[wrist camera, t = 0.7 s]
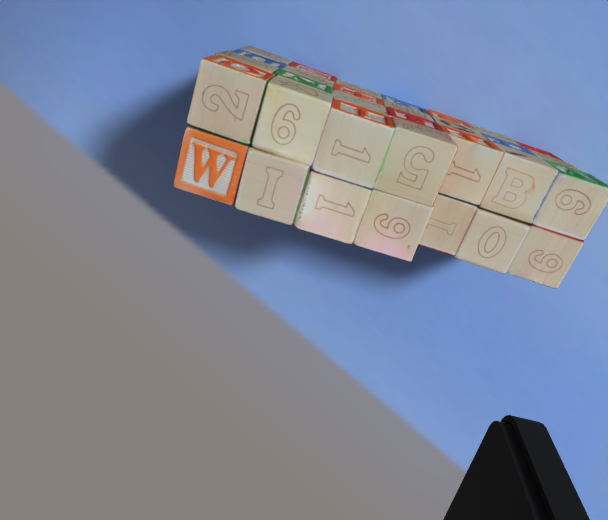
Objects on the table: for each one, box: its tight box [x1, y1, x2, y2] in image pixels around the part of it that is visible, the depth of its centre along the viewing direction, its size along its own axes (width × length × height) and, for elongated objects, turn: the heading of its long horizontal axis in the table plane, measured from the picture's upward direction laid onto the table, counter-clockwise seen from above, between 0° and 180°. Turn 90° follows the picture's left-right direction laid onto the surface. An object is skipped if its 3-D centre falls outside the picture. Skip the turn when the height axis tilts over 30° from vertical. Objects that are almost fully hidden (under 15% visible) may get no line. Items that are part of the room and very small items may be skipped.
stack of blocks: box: [174, 46, 608, 289], centre depth 31 cm, size 21×6×12 cm, turn 72°
